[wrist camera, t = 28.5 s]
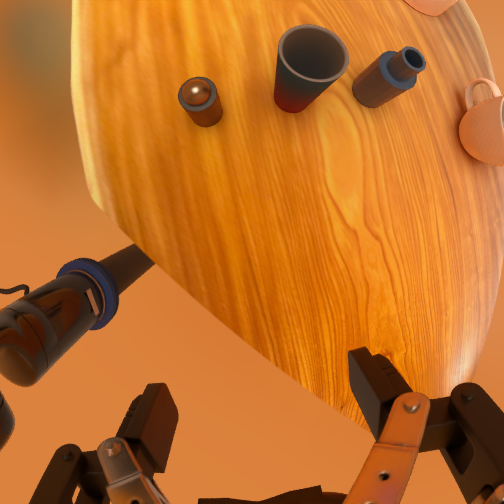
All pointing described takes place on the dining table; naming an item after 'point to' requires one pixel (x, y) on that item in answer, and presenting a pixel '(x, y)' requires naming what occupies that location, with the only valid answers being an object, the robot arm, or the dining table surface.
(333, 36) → the cup
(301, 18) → the dining table surface
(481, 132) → the mug
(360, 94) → the bottle
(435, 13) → the cup
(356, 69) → the dining table surface
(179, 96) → the pepper mill
